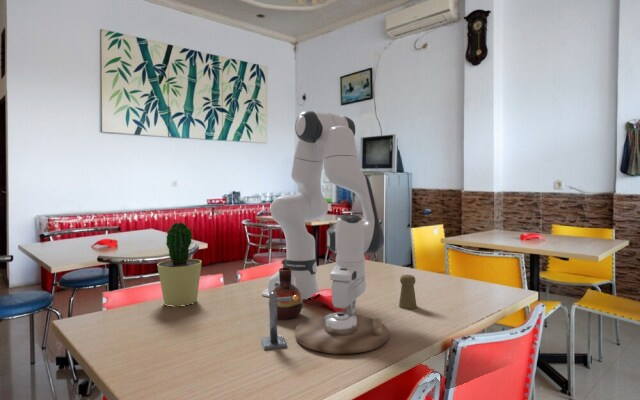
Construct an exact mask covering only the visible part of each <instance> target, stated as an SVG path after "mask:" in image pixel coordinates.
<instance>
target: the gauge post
mask: <svg viewBox="0 0 640 400" xmlns="http://www.w3.org/2000/svg"><path fill="white" fill-rule="evenodd" d="M298 299H299V297H298V296H297V295H294V296H293V297H282V298H277V292H270V293H269V297H268V308H269V309H268V310H269V336H264V337H260V341H261V345H262V346H263V350H264V351H266V349H267V350H273V349H274V348H275V349H282V348H287V347H288V345H287V344H288V343H287V341H286V338H285V337H284V335H278V319H277V302H280V301H291V300H294V301H298ZM275 349H274V350H275Z"/></svg>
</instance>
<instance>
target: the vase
mask: <svg viewBox="0 0 640 400" xmlns="http://www.w3.org/2000/svg"><path fill="white" fill-rule="evenodd" d="M278 271H279V277H280V284H279V285H278V286H277V287H275V288H274V289H273V291H272V292H277V298H282V297H293V296H294V295H297V296H298V297H299V299H298V301H294V300H291V301H280V302H277V320H292V319H295V318H297V317H298V316H299V315H300V314H301V312H302V310H303V304H304V303H303V301H304V299H303V298H302V295H301V292H300V291H299V290H298V288H296V287H295V286H294V285H292V284H291V272H292V269H291V268H283V267H280V268H278Z"/></svg>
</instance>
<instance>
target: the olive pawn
mask: <svg viewBox="0 0 640 400" xmlns="http://www.w3.org/2000/svg"><path fill="white" fill-rule="evenodd" d="M399 283H400V284H401V287H400V295H399V301H398V302H399V304H398V307H399V308H400V309H403V310H414V309H417V308H418V307H417V301H416V300H417V299H416V292H415V283H416V278H415V275H413V274H403V275H401V276H400V278H399Z"/></svg>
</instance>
